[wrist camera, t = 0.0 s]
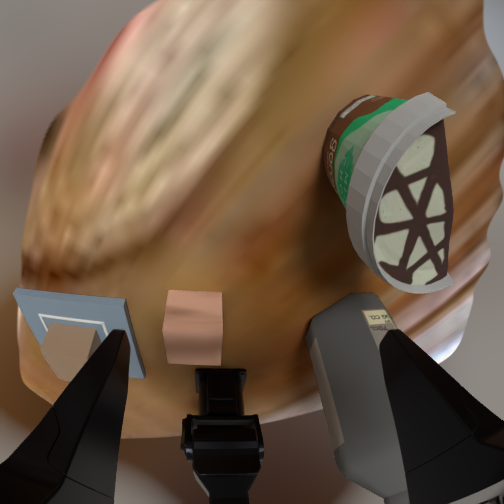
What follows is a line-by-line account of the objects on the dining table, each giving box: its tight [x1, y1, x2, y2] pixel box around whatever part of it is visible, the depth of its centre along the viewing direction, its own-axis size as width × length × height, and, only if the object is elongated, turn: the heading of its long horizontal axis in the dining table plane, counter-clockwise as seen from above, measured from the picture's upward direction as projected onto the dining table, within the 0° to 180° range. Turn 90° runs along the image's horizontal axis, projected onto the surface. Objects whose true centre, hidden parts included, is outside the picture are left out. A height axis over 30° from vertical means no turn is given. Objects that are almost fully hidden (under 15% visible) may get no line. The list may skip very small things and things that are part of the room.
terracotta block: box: [162, 290, 223, 366], centre depth 27 cm, size 5×5×5 cm
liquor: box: [306, 293, 409, 504], centre depth 21 cm, size 9×9×30 cm
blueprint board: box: [13, 288, 145, 381], centre depth 28 cm, size 14×14×5 cm
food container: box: [323, 92, 456, 293], centre depth 17 cm, size 12×6×10 cm, turn 23°
